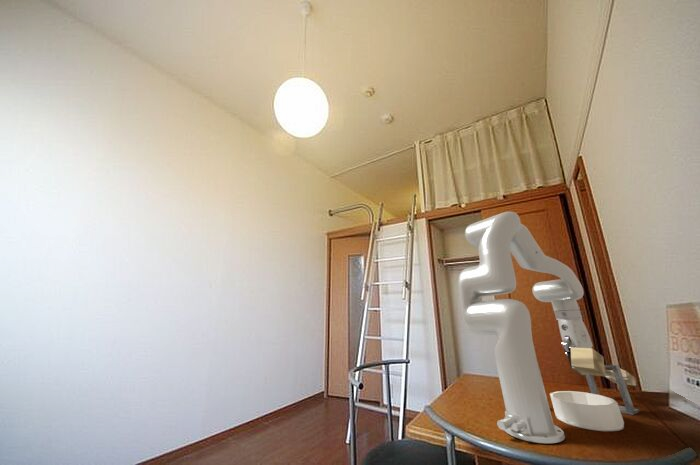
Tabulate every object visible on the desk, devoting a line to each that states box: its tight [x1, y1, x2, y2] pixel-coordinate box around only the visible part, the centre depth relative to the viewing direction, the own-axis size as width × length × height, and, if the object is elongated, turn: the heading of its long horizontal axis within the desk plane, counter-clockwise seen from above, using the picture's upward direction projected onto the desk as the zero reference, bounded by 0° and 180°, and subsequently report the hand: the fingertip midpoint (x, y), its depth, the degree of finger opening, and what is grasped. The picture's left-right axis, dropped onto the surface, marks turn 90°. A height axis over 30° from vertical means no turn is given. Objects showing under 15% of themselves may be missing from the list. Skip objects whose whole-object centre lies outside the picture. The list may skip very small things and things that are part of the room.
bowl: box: [549, 390, 625, 432], centre depth 68 cm, size 14×14×5 cm
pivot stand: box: [584, 363, 640, 416], centre depth 76 cm, size 4×9×12 cm, turn 27°
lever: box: [570, 347, 637, 387], centre depth 80 cm, size 23×12×6 cm, turn 115°
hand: (584, 366), depth 89 cm, fingers open, 9 cm apart
